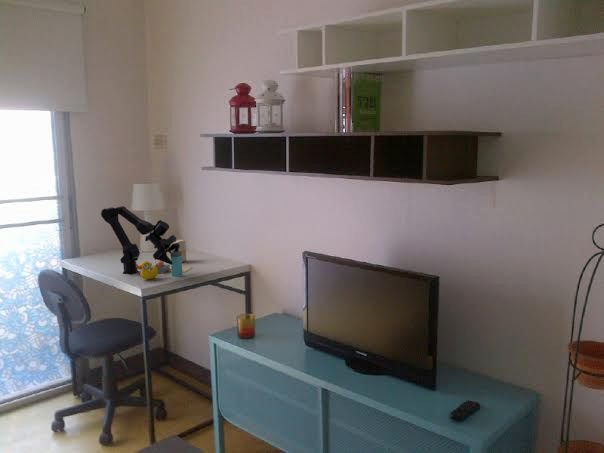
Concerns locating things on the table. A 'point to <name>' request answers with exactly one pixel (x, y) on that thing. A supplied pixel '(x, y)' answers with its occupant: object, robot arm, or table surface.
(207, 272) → the table surface
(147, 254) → the table surface
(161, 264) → the button
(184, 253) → the supplement box
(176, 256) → the teal cylinder
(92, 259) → the table surface
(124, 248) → the robot arm
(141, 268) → the duckling
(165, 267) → the button housing
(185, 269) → the sketchbook
